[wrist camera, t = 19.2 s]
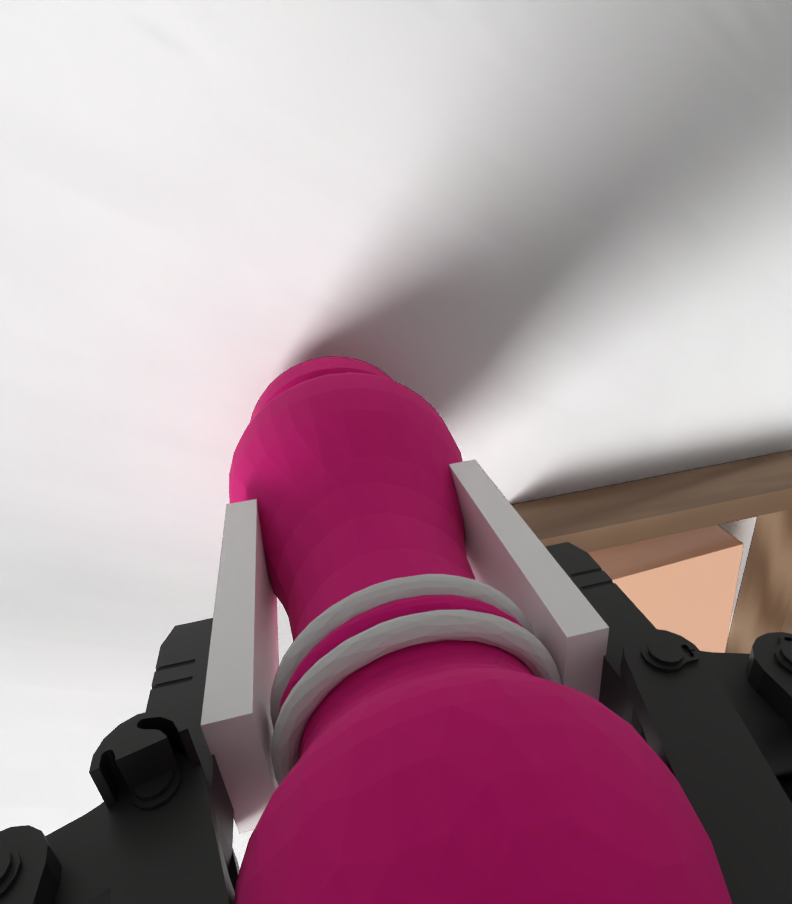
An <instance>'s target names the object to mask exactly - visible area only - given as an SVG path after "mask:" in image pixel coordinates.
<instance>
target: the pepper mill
mask: <svg viewBox="0 0 792 904" xmlns="http://www.w3.org/2000/svg"><path fill="white" fill-rule="evenodd" d="M459 462H463V461H462V457H461V452H460V451H459V449H458V447H457V445H456V443H455V441H454V439H453V437H452V435H451V434H450V432H449V430H448V428H447V426H446V424H445V423H444V421H443V419H442V418H441V417H440V416H439V414H438V413H437V412H436V410H435V409H434V408H433V407H432V406H431V405H430V404H429V403H428V402H427V401H425V400H424V399H423V398H422V397H421V396H420V395H418V394H417V393H415V392H414V391H412V390H410V389H409V388H407V387H406V386H404V385H401V384H399V383H397V382H394V381H393V380H392V379H391V378H390V377H389V376H388V375H387V374H385V373H384V372H382V371H381V370H379V369H378V368H376V367H374V366H372V365H370V364H368V363H366V362H364V361H361V360H356V359H351V358H347V357H322V358H317V359H311V360H308V361H306V362H303V363H301V364H298V365H296V366H293V367H291V368H290V369H288V370H287V371H285V372H284V373H282V374H281V375H279V376H278V377H277V378H276V379H275V380H274V381H273V382H272V383H270V384H269V386H268V387H267V389H266V390H265V391H264V393H263V394H262V396H261V397H260V399H259V400H258V402H257V404H256V406H255V408H254V411H253V413H252V417H251V421H250V424H249V425H248V427H247V428H246V430H245V431H244V433H243V435H242V437H241V439H240V441H239V443H238V445H237V447H236V450H235V452H234V455H233V460H232V465H231V469H230V474H229V497H230V504H231V503H236V502H242V501H248V500H253V499H257V504H258V512H259V519H260V526H261V533H262V540H263V547H264V552H265V558H266V564H267V570H268V576H269V580H270V583H271V586H272V589H273V591H274V593H275V595H276V596H277V598H278V599H279V600H280V602H281V603H282V604H283V606H284V608H285V610H286V613H287V615H288V617H289V622H290V627H291V632H292V637H293V643H292V644H291V646H290V647H289V649H288V651H287V652H286V654H285V655H284V657H283V659H282V661H281V663H280V665H279V668H278V670H277V672H276V675H275V678H274V682H273V685H272V689H271V697H270V715H271V720H272V725H273V730H274V733H273V737H272V743H271V759H272V765H273V770H274V775H275V779H276V781H277V783H278V785H279V786H278V787H277V789H276V790H275V791H274V792H273V794H272V796H271V798H270V800H269V802H268V804H267V806H266V808H265V810H264V812H263V814H262V816H261V818H260V819H259V821H258V823H257V825H256V827H255V829H254V831H253V833H252V835H251V837H250V839H249V842H248V845H247V848H246V851H245V855H244V858H243V861H242V864H241V867H240V871H239V874H238V877H237V880H236V888H235V899H234V904H732V901H731V898H730V895H729V892H728V889H727V886H726V883H725V880H724V877H723V874H722V871H721V868H720V865H719V863H718V860H717V857H716V854H715V851H714V848H713V845H712V842H711V840H710V838H709V836H708V834H707V833H706V831H705V829H704V827H703V825H702V824H701V822H700V820H699V818H698V816H697V814H696V813H695V811H694V809H693V807H692V805H691V803H690V802H689V800H688V798H687V796H686V794H685V793H684V791H683V789H682V787H681V785H680V783H679V782H678V780H677V779H676V778H675V776H674V775H673V774H672V772H671V771H670V770H669V768H668V767H667V766H666V764H665V763H664V762H663V761H662V760H661V759H660V757H659V756H658V755H657V754H656V753H655V752H654V750H653V749H652V748H651V747H650V746H649V745H648V744H647V742H646V741H645V740H644V739H643V738H642V737H641V736H640V734H639V733H638V732H637V731H636V730H635V729H634V728H633V726H632V725H631V724H629V723H628V722H626V721H625V720H624V719H622V718H621V717H620V716H618V715H617V714H616V713H614V712H613V711H611V710H610V709H609V708H607V707H606V706H605V705H603V704H602V703H601V702H599V701H598V700H597V699H595V698H593V697H591V696H589V695H586V694H584V693H582V692H580V691H578V690H576V689H574V688H571V687H569V686H565V685H562V682H561V678H560V675H559V672H558V669H557V666H556V664H555V662H554V660H553V658H552V657H551V655H550V653H549V652H548V650H547V649H546V648H545V646H544V645H543V644H542V643H541V641H540V640H539V639H537V638H536V635H535V633H534V631H533V628H532V626H531V623H530V622H529V620H528V619H527V617H526V616H525V614H524V612H523V611H522V610H521V609H520V608H519V607H518V606H517V605H516V604H515V603H514V602H513V601H512V600H510V599H509V598H508V597H507V596H506V595H504V594H503V593H501V592H500V591H498V590H496V589H494V588H493V587H491V586H489V585H487V584H484V583H482V582H480V581H477V580H476V579H475V576H474V574H473V571H472V569H471V566H470V564H469V561H468V559H467V554H466V548H465V529H464V521H463V516H462V512H461V508H460V504H459V500H458V496H457V491H456V488H455V484H454V481H453V477H452V474H451V471H450V467H449V464H453V463H459Z"/></svg>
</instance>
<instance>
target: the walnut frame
mask: <svg viewBox="0 0 792 904" xmlns="http://www.w3.org/2000/svg"><path fill="white" fill-rule="evenodd" d="M512 506H513V508H514V509H515V510H516V511H517V513H518V514H519V515H520V516H521V518H522V519H523V520H524V521H525V523H526V524H527V525H528V526H529V528H530V529H531V530H532V531H533V533H534V534H535V535H536V536H537V538H538V539H539V540H540V541H541V543H542V544H543V545H544V546H550V545H555V544H560V543H564V542H569V543H571V544H573V545H575V546H576V547H578V548H580V549H582V550H584V551H585V552H587V553H588V552H593V551H597V550H602V549H607V548H611V547H616V546H621V545H625V544H630V543H635V542H639V541H644V540H649V539H653V538H658V537H663V536H667V535H672V534H677V533H681V532H686V531H691V530H696V529H700V528H705V527H710V526H714V525H719V524H724V523H728V522H733V521H738V520H742V519H747V518H752V517H756V516H758V517H757V521H756V525H755V529H754V534H753V538H752V542H751V546H750V550H749V554H748V558H747V563H746V567H745V571H744V575H743V579H742V583H741V587H740V591H739V596H738V600H737V604H736V608H735V612H734V616H733V620H732V625H731V629H730V633H729V637H728V641H727V645H726V650H725V653H745V654H750V652H751V649H752V646H753V644H754V642H755V640H756V638H757V637H760V636H762V635H764V634H766V633H774V632H785V633H790V634H792V450H790V451H785V452H780V453H775V454H770V455H765V456H760V457H755V458H749V459H744V460H739V461H734V462H729V463H724V464H719V465H713V466H708V467H703V468H698V469H693V470H688V471H683V472H678V473H672V474H667V475H662V476H657V477H652V478H647V479H642V480H636V481H631V482H626V483H621V484H616V485H611V486H606V487H600V488H595V489H590V490H585V491H580V492H575V493H570V494H565V495H559V496H554V497H549V498H544V499H539V500H534V501H529V502H523V503H518V504H513V505H512Z"/></svg>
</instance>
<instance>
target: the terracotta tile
mask: <svg viewBox="0 0 792 904" xmlns="http://www.w3.org/2000/svg"><path fill="white" fill-rule="evenodd" d="M742 550H743V543H742V542H740V541H739V540H737V539H736V538H735V537H733V536H732V535H731V534H729V533H728V532H726V531H725V530H724V529H722V528H721V527H719V526H718V525H714V526H710V527H705V528H700V529H696V530H691V531H686V532H681V533H677V534H672V535H667V536H663V537H658V538H653V539H649V540H644V541H639V542H635V543H630V544H625V545H621V546H616V547H611V548H607V549H602V550H597V551H593V552H588V554H589V555H590V556H591V557H592V558H593V559H594V560H595V561H596V562H597V563H598V565H599V566H600V567H601V569H602V571H605V572H606V573H607V575H608V576H609V577H610V578H611V579H612V581H613V583H616V584H617V586H618V587H619V588H620V589H621V590H622V591H623V592H624V593H625V594H626V596H627V597H628V598H629V599H630V600H631V601H632V602H633V603H634V604H635V605H636V607H637V608H638V609H639V610H640V611H641V612H642V613H643V614H644V615H645V617H646V618H647V619H648V620H649V621H650V622H651V623H652V624H653V625H654V626H655V628H656V629H659V630H666V631H669V632H672V633H675V634H678V635H680V636H682V637H684V638H685V639H687V640H688V641H690V642H692V643H693V644H695V646H696V647H697V648H698V649H699V650H700V651H706V652H718V653H725V650H726V644H727V638H728V632H729V626H730V620H731V615H732V609H733V603H734V597H735V591H736V585H737V579H738V574H739V568H740V562H741V556H742Z"/></svg>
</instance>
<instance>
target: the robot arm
mask: <svg viewBox="0 0 792 904" xmlns="http://www.w3.org/2000/svg"><path fill="white" fill-rule="evenodd" d="M449 467H450V471H451V474H452V477H453V481H454V484H455V488H456V491H457V496H458V500H459V504H460V508H461V512H462V516H463V521H464V529H465V548H466V554H467V559H468V561H469V564H470V566H471V569H472V571H473V574H474V576H475V579H476V580H477V581H480V582H482V583H484V584H487V585H489V586H491V587H493V588H494V589H496V590H498V591H500V592H501V593H503V594H504V595H506V596H507V597H508V598H509V599H510V600H512V601H513V602H514V603H515V604H516V605H517V606H518V607H519V608H520V609H521V610H522V611H523V612H524V614H525V616H526V617H527V619H528V620H529V622H530V623H531V626H532V628H533V631H534V633H535V635H536V638H537V639H539V640H540V641H541V643H542V644H543V645H544V646H545V648H546V649H547V650H548V652H549V653H550V655H551V657H552V658H553V660H554V662H555V664H556V666H557V669H558V672H559V675H560V678H561V682H562V685H565V686H569V687H571V688H574V689H576V690H578V691H580V692H582V693H584V694H586V695H589V696H591V697H593V698H595V699H597V700H598V701H599V702H601V703H602V704H603V705H605V706H606V707H607V708H609V709H610V710H611V711H613V712H614V713H616V714H617V715H618V716H620V717H621V718H622V719H624V720H625V721H626V722H628V723H629V724H631V725H632V726H633V728H634V729H635V730H636V731H637V732H638V733H639V734H640V736H641V737H642V738H643V739H644V740H645V741H646V742H647V744H648V745H649V746H650V747H651V748H652V749H653V750H654V752H655V753H656V754H657V755H658V756H659V757H660V759H661V760H662V761H663V762H664V763H665V764H666V766H667V767H668V768H669V770H670V771H671V772H672V774H673V775H674V776H675V778H676V779H677V780H678V782H679V783H680V785H681V787H682V789H683V791H684V793H685V794H686V796H687V798H688V800H689V802H690V803H691V805H692V807H693V809H694V811H695V813H696V814H697V816H698V818H699V820H700V822H701V824H702V825H703V827H704V829H705V831H706V833H707V834H708V836H709V838H710V840H711V842H712V845H713V848H714V851H715V854H716V857H717V860H718V863H719V865H720V868H721V871H722V874H723V877H724V880H725V883H726V886H727V889H728V892H729V895H730V898H731V901H732V904H792V634H790V633H785V632H774V633H766V634H764V635H762V636H760V637H757V638H756V640H755V642H754V644H753V646H752V649H751V652H750V654H745V653H718V652H706V651H700V650H699V649H698V648H697V647H696V646H695V644H693V643H692V642H690V641H688V640H687V639H685V638H684V637H682V636H680V635H678V634H675V633H672V632H669V631H666V630H659V629H656V628H655V626H654V625H653V624H652V623H651V622H650V621H649V620H648V619H647V618H646V617H645V615H644V614H643V613H642V612H641V611H640V610H639V609H638V608H637V607H636V605H635V604H634V603H633V602H632V601H631V600H630V599H629V598H628V597H627V596H626V594H625V593H624V592H623V591H622V590H621V589H620V588H619V587H618V586H617V584H616V583H613V581H612V579H611V578H610V577H609V576H608V575H607V573H606V572H605V571H602V569H601V567H600V566H599V565H598V563H597V562H596V561H595V560H594V559H593V558H592V557H591V556H590V555H589V554H588V553H587V552H585V551H584V550H582V549H580V548H578V547H576V546H575V545H573V544H571V543H569V542H564V543H560V544H555V545H550V546H544V545H543V544H542V543H541V541H540V540H539V539H538V538H537V536H536V535H535V534H534V533H533V531H532V530H531V529H530V528H529V526H528V525H527V524H526V523H525V521H524V520H523V519H522V518H521V516H520V515H519V514H518V513H517V511H516V510H515V509H514V508H513V506H512V505H511V504H510V503H509V501H508V500H507V499H506V498H505V496H504V495H503V494H502V493H501V491H500V490H499V489H498V488H497V486H496V485H495V484H494V483H493V481H492V480H491V479H490V477H489V476H488V475H487V474H486V472H485V471H484V470H483V469H482V467H481V466H480V465H479V464H478V462H477V461H476V460H470V461H464V462H459V463H453V464H449ZM278 668H279V654H278V624H277V596H276V595H275V593H274V591H273V589H272V586H271V583H270V580H269V576H268V570H267V564H266V558H265V552H264V547H263V540H262V533H261V526H260V519H259V512H258V504H257V499H253V500H248V501H242V502H236V503H231V504H227V505H226V514H225V522H224V531H223V539H222V548H221V556H220V565H219V573H218V582H217V590H216V599H215V607H214V616H213V618H211V619H206V620H201V621H196V622H192V623H187V624H182V625H178V626H175V627H174V628H173V630H172V631H171V633H170V634H169V635H168V637H167V638H166V640H165V641H164V642H163V644H162V645H161V647H160V651H159V656H158V660H157V664H156V672H155V673H154V678H153V682H152V690H151V691H150V695H149V700H148V704H147V709H146V712H145V713H142V714H138V715H136V716H134V717H132V718H130V719H129V720H127V721H125V722H123V723H122V724H120V725H118V726H117V727H116V728H115V729H114V730H113V731H112V732H111V733H110V734H109V735H108V736H106V737H105V738H104V739H103V741H102V742H101V744H100V746H99V747H98V749H97V750H96V752H95V753H94V755H93V758H92V762H91V766H90V771H89V773H90V775H91V777H92V779H93V781H94V783H95V785H96V786H97V788H98V790H99V792H100V794H101V796H102V798H103V800H104V802H103V803H102V804H101V805H99V806H98V807H96V808H95V809H93V810H92V811H90V812H88V813H87V814H85V815H84V816H82V817H80V818H78V819H76V820H74V821H73V822H71V823H69V824H67V825H65V826H63V827H62V828H60V829H58V830H56V831H54V832H52V833H51V834H49V835H47V836H44V834H43V832H42V831H40V830H38V829H36V828H34V827H31V826H29V825H28V826H17V827H10V828H7V829H5V830H3V831H0V904H234V899H235V888H236V880H237V877H238V874H239V871H240V870H239V866H238V861H237V859H236V856H235V853H234V851H233V848H232V839H233V818H234V820H235V823H236V826H237V829H238V831H239V834H240V833H244V832H248V831H251V830H254V829H255V827H256V825H257V823H258V821H259V819H260V818H261V816H262V814H263V812H264V810H265V808H266V806H267V804H268V802H269V800H270V798H271V796H272V794H273V792H274V791H275V790H276V789H277V787H278V786H279V785H278V783H277V781H276V779H275V775H274V770H273V765H272V759H271V743H272V737H273V733H274V730H273V725H272V720H271V715H270V697H271V689H272V685H273V682H274V678H275V675H276V672H277V670H278Z"/></svg>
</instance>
